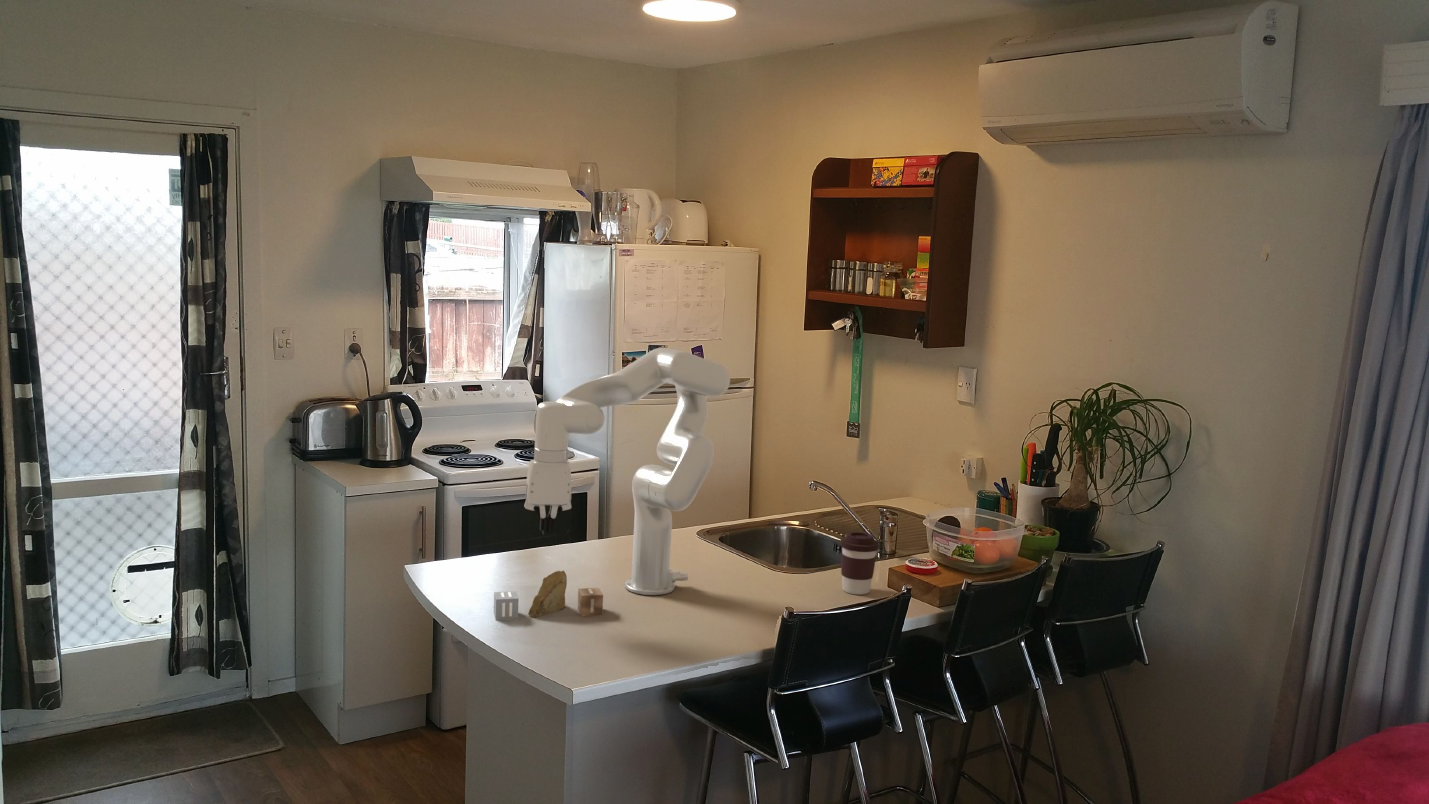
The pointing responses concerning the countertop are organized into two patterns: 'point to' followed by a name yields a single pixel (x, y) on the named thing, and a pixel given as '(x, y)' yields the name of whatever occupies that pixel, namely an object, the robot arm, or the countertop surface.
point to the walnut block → (590, 601)
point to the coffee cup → (858, 562)
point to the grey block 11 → (506, 605)
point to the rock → (550, 595)
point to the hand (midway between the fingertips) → (546, 533)
